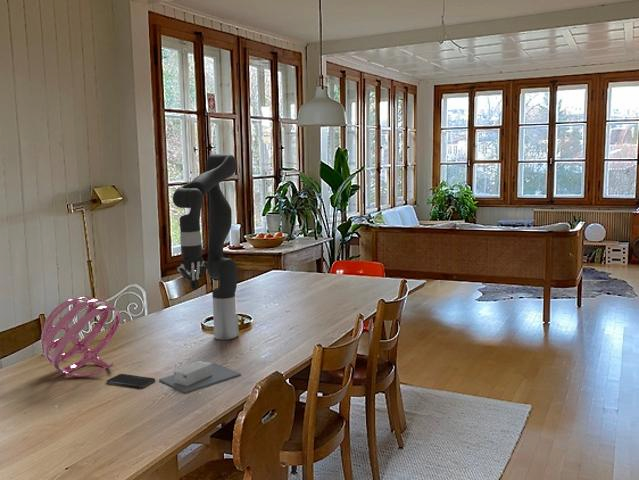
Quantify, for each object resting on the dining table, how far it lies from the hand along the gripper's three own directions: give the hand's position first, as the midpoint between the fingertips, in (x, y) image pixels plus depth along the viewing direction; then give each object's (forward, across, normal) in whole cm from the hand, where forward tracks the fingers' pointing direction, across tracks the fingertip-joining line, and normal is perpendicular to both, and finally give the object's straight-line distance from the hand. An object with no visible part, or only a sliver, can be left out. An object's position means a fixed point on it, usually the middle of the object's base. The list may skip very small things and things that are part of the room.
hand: (194, 289), depth 224 cm
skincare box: (+22, +9, +19) cm, 31 cm away
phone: (+25, +30, +5) cm, 40 cm away
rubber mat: (+25, +13, +19) cm, 34 cm away
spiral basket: (+25, +36, -18) cm, 47 cm away
